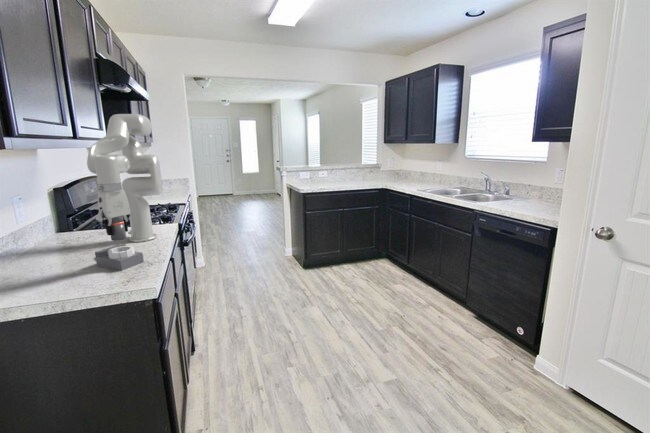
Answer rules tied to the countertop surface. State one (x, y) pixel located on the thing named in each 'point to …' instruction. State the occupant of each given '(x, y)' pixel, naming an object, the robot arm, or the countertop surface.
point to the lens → (118, 228)
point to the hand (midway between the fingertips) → (117, 232)
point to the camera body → (118, 257)
